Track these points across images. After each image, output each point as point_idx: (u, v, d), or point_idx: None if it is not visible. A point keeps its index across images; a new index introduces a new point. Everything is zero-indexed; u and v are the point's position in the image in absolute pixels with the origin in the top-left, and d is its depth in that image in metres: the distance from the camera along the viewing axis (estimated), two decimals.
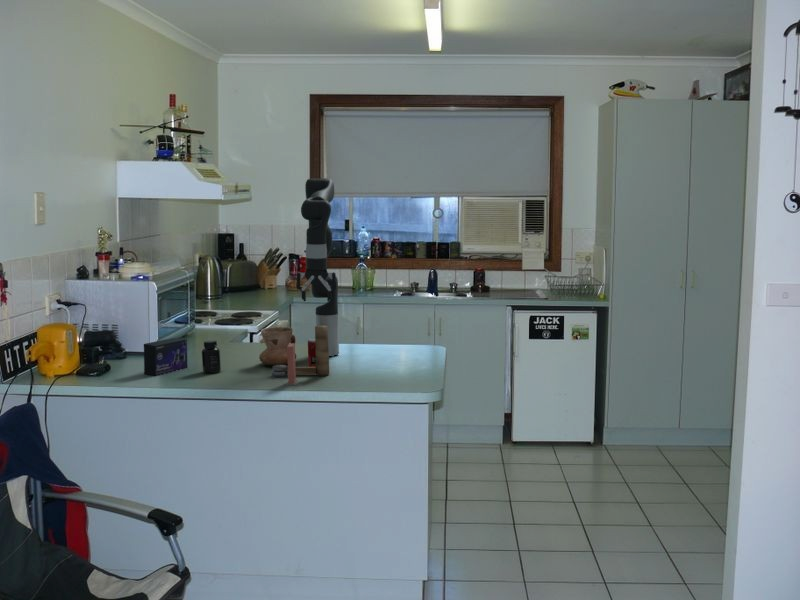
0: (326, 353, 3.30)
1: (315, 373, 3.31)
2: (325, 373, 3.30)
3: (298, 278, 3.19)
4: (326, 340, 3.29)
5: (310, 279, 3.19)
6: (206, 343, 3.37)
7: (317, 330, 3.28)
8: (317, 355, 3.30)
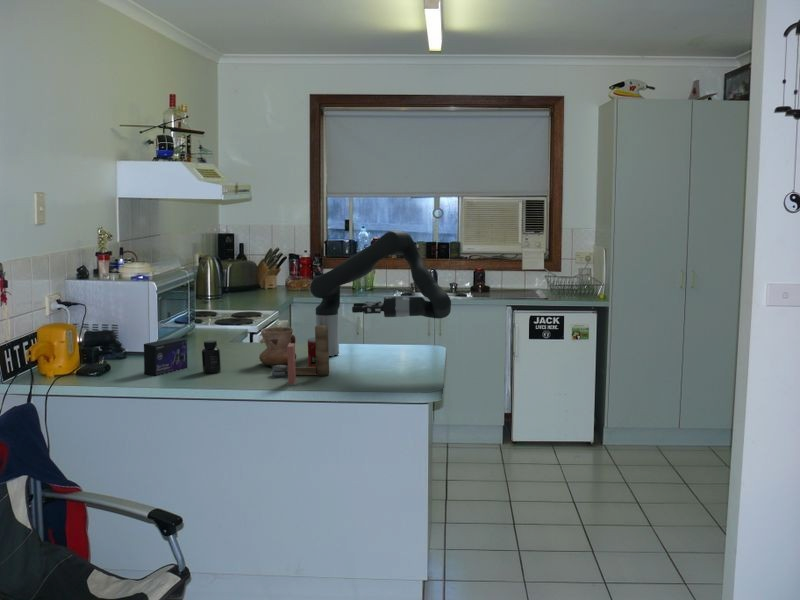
0: (326, 353, 3.30)
1: (315, 373, 3.31)
2: (325, 373, 3.30)
3: None
4: (326, 340, 3.29)
5: None
6: (206, 343, 3.37)
7: (317, 330, 3.28)
8: (317, 355, 3.30)
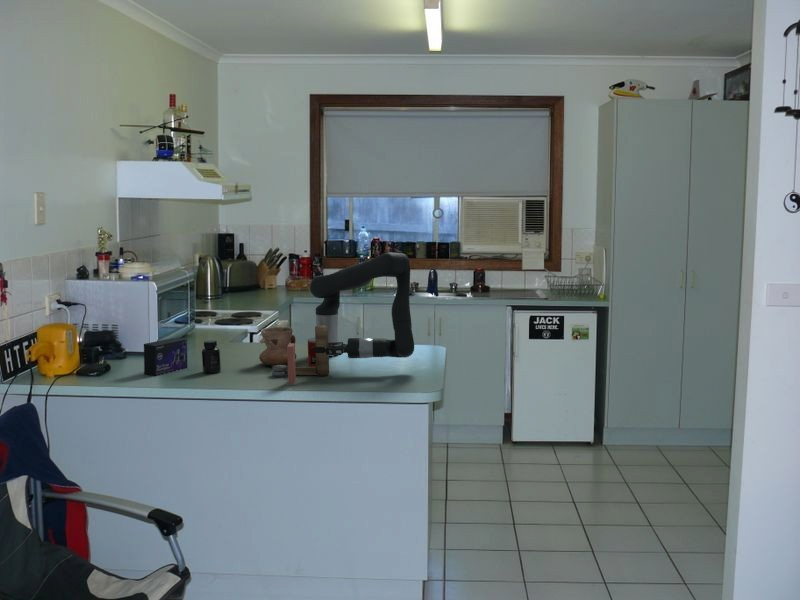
0: None
1: (315, 373, 3.31)
2: (325, 373, 3.30)
3: None
4: (326, 340, 3.29)
5: None
6: (206, 343, 3.37)
7: (317, 330, 3.28)
8: (317, 355, 3.30)
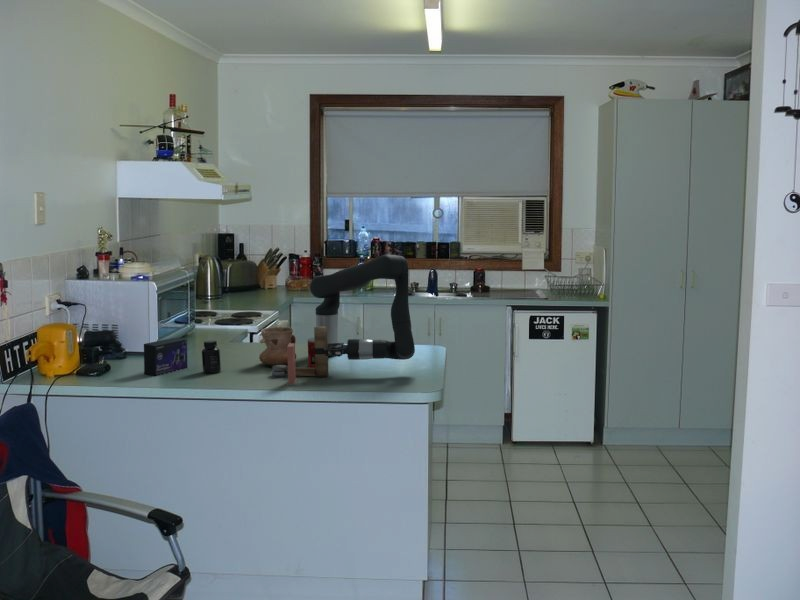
0: None
1: (314, 374, 3.30)
2: (324, 374, 3.28)
3: None
4: (325, 341, 3.27)
5: None
6: (206, 343, 3.37)
7: (316, 331, 3.26)
8: (316, 356, 3.28)
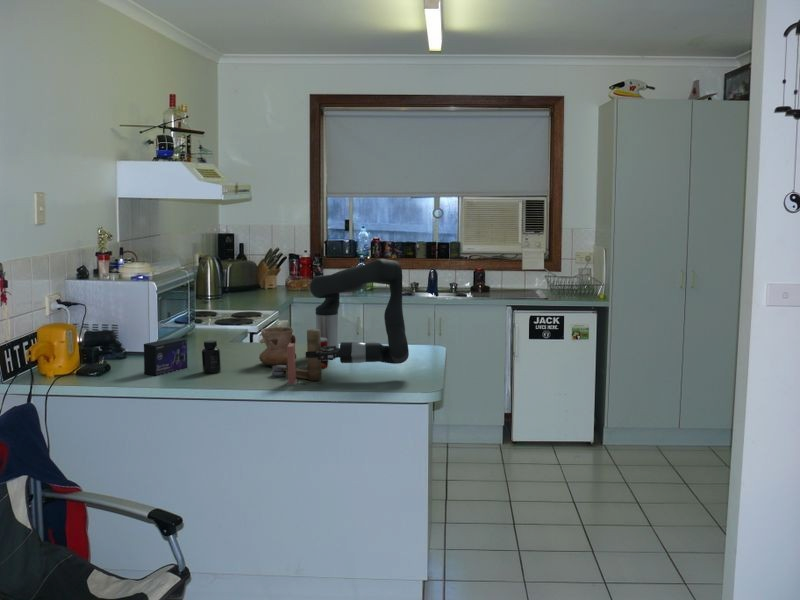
0: (315, 358, 3.21)
1: (307, 377, 3.25)
2: (314, 378, 3.22)
3: None
4: (315, 345, 3.20)
5: None
6: (206, 343, 3.37)
7: (307, 333, 3.21)
8: None
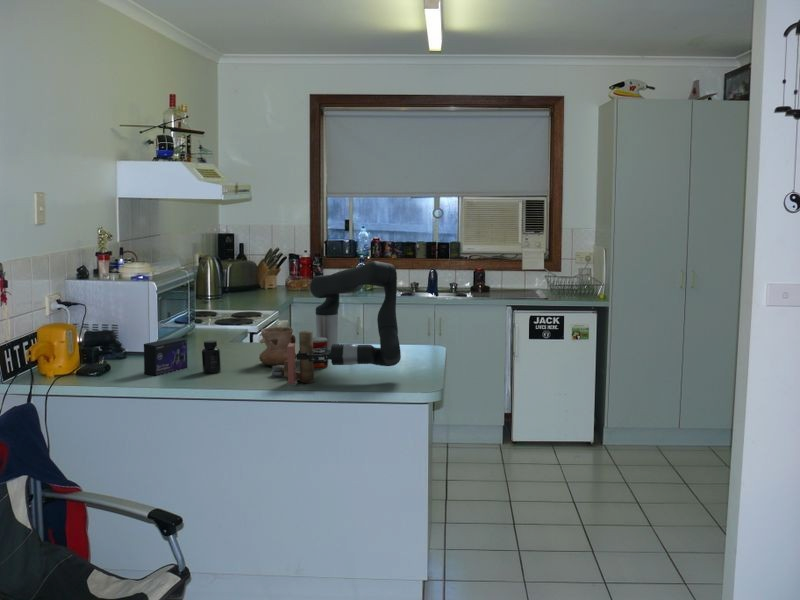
0: (306, 360, 3.18)
1: None
2: (304, 380, 3.19)
3: None
4: (306, 346, 3.17)
5: None
6: (206, 343, 3.37)
7: (299, 335, 3.18)
8: (300, 361, 3.20)
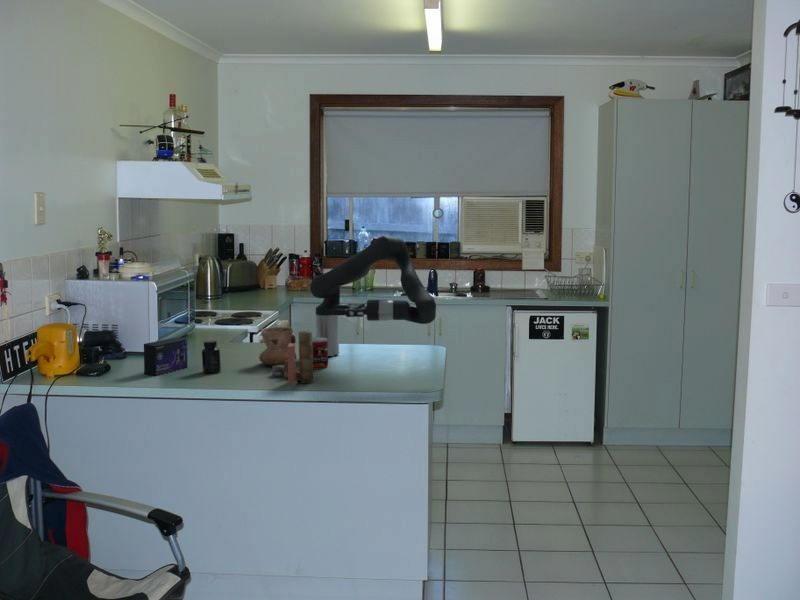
0: (305, 360, 3.18)
1: (300, 379, 3.22)
2: (304, 380, 3.19)
3: (357, 316, 3.14)
4: (305, 347, 3.17)
5: None
6: (206, 343, 3.37)
7: None
8: None
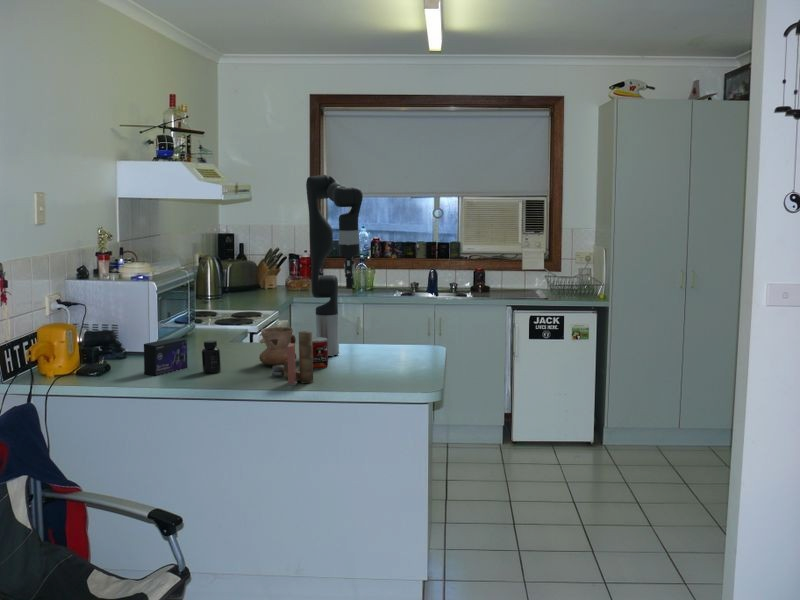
0: (305, 360, 3.18)
1: (300, 379, 3.22)
2: (304, 380, 3.19)
3: (351, 266, 3.19)
4: (305, 347, 3.17)
5: (354, 265, 3.23)
6: (206, 343, 3.37)
7: None
8: None
